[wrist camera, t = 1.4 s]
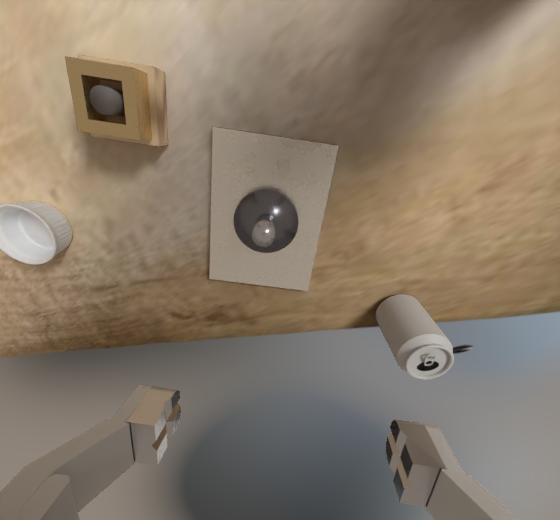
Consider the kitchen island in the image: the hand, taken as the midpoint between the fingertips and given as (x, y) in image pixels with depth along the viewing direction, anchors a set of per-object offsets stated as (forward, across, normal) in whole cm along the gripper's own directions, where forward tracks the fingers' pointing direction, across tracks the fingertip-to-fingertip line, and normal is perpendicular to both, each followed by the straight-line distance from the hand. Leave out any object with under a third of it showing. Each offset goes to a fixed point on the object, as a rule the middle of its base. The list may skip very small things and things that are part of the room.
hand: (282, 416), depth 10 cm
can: (+35, -18, +12) cm, 41 cm away
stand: (+28, +22, -15) cm, 38 cm away
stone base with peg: (+31, +5, -2) cm, 31 cm away
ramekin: (+29, +38, +2) cm, 48 cm away
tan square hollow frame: (+24, +22, -15) cm, 36 cm away
